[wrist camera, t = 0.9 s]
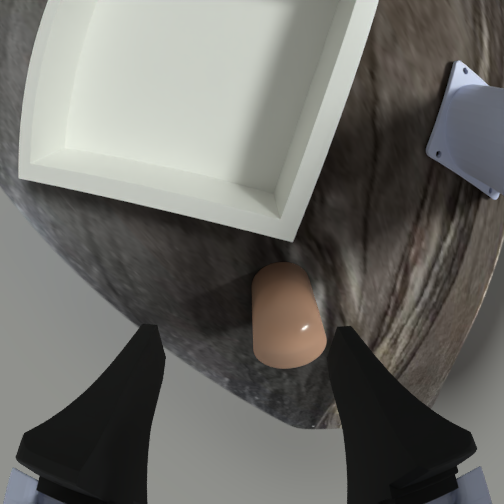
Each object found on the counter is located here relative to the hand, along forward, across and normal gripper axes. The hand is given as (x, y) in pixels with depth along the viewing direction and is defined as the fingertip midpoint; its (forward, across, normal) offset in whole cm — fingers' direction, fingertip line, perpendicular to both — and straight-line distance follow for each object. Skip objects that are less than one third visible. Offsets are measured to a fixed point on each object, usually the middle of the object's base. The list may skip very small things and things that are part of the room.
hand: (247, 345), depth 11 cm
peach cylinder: (+10, -3, +4) cm, 11 cm away
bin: (+10, +4, -12) cm, 16 cm away
